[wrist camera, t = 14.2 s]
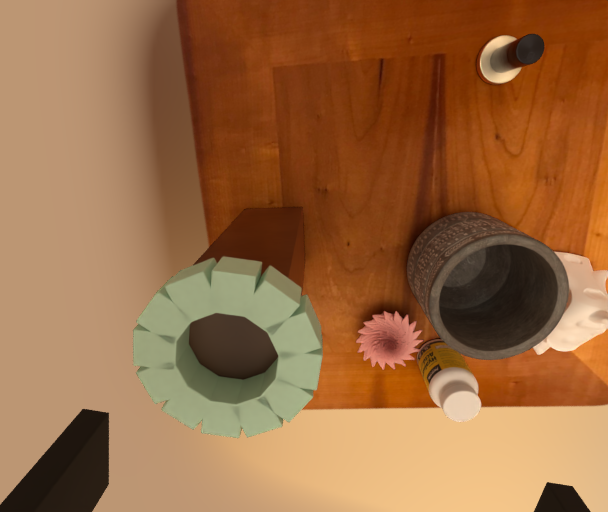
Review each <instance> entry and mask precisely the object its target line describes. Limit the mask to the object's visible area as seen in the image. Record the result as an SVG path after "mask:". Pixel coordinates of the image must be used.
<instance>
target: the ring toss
mask: <svg viewBox="0 0 608 512" xmlns="http://www.w3.org/2000/svg"><path fill="white" fill-rule="evenodd" d="M543 52H544V41H543V39H542V38H541V37H540V36H539V35H536V34H528V35H526V36H524V37H521V38H519V39H516V38H514V37H512V36H508V35H503V36H498V37H496V38H494V39H492V40H490V41H489V42H487V43H486V44H485V45H484V46H483V47H482V49H481V50H480V52H479V54H478V57H477V62H476V67H477V72H478V74H479V76H480V77H481V79H482V80H483V81H485V82H486V83H489V84H493V85H497V84H502V83H506V82H508V81H510V80H512V79H513V78H514V77H515V76H516V75H517V74H518V73H519V72H520V70H521V68H522V67H523V66H526V65H530V64H533V63H535V62H536V61H538V60H539V59H540V57H541V56H542V54H543Z"/></svg>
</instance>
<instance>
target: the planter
mask: <svg viewBox="0 0 608 512" xmlns="http://www.w3.org/2000/svg"><path fill="white" fill-rule="evenodd" d="M407 277H408V282H409V285H410V287H411V290H412V292H413V294H414V296H415V298H416V299H417V301H418V302H419V304H420V305H421V307H422V309H423V311H424V313H425V314H426V316H427V318H428V319H429V321H430V322H431V324H432V325H433V327H434V329H435V331H436V332H437V334H438V335H439V337H440V338H441V339H442V340H443V341H444V342H445V343H446V344H447V345H448V346H449V347H451V348H452V349H454V350H455V351H457V352H459V353H461V354H463V355H465V356H468V357H471V358H476V359H482V360H496V359H504V358H508V357H512V356H515V355H518V354H520V353H523V352H525V351H527V350H529V349H531V348H533V347H534V346H536V345H537V344H539V343H540V342H541V341H543V340H544V339H545V338H546V337H547V336H548V335H549V334H550V333H551V332H552V331H553V330H554V328H555V327H556V326H557V324H558V323H559V321H560V320H561V318H562V316H563V314H564V311H565V309H566V305H567V302H568V296H569V281H568V276H567V272H566V270H565V267H564V265H563V263H562V262H561V260H560V259H559V257H558V256H557V255H556V254H555V252H554V251H552V250H551V249H550V248H549V247H548V246H546V245H545V244H543V243H542V242H540V241H538V240H536V239H534V238H532V237H530V236H528V235H527V234H525V233H523V232H521V231H519V230H517V229H515V228H513V227H511V226H509V225H507V224H506V223H504V222H502V221H500V220H498V219H496V218H493V217H491V216H488V215H486V214H482V213H477V212H461V213H455V214H451V215H448V216H446V217H443V218H441V219H439V220H437V221H435V222H434V223H432V224H431V225H430V226H428V227H427V228H426V229H425V230H424V231H423V232H422V233H421V234H420V235H419V237H418V238H417V239H416V241H415V242H414V244H413V246H412V248H411V251H410V253H409V256H408V261H407Z"/></svg>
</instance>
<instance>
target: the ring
mask: <svg viewBox="0 0 608 512" xmlns="http://www.w3.org/2000/svg"><path fill="white" fill-rule="evenodd" d="M261 270H262V262H260V261H253V260H246V259H238V258H231V257H224V256H223V257H222V258H221V259H220V261H219V262H218V263H217V262H216V260H215V258H211V259H208V260H206V261H203V262H201V263H198V264H196V265H193V266H191V267H188V268H186V269H183V270H181V271H179V272H178V273H177V274H176V275H175V276H173V277H171V278H170V279H169V280H168V281H167V282H166V283H165V284H164V285H163V286H162V287H161V288H160V289H159V290H158V291H157V292H156V294H155V295H154V297H153V298H152V300H151V301H150V302H149V304H148V305H147V307H146V308H145V309H144V311H143V312H142V314H141V315H140V317H139V318H138V319H137V321H136V322H137V323H138V325H137V326H136V327H135V329H134V330H133V365H134V366H141V367H140V368H139V369H138V371H137V372H136V374H137V376H138V377H139V379H140V381H141V382H142V384H143V385H144V387H145V389H146V390H147V392H148V394H149V395H150V397H151V398H152V400H153V402H154V403H155V404H157V403H160V402H163V401H166V402H165V403H164V405H163V407H162V411H164V412H165V413H167V414H168V415H170V416H172V417H173V418H175V419H177V420H178V421H180V422H182V423H183V424H184V425H186V426H188V427H189V428H191V429H195V428H196V427H197V425H198V424H199V423H200V422H201V421H202V428H201V433H204V434H211V435H219V436H226V437H234V438H239V437H240V434H241V430H242V429H243V431H244V433H245V434H246V436H247V437H251V436H254V435H257V434H260V433H264V432H267V431H270V430H273V429H276V428H279V427H282V424H283V419H284V420H286V421H287V422H290V421H291V420H292V419H293V418H294V417H295V416H296V415H297V414H298V413H299V412H300V411H301V409H302V408H303V407H304V406H305V405H306V404H307V403H308V402H309V401H310V400H311V399H312V398H313V390H317V386H318V380H319V374H320V368H321V362H322V357H323V351H322V334H321V325H320V323H319V320H318V318H317V316H316V314H315V311H314V309H313V307H312V304H311V302H310V300H309V298H308V295H307V294H306V295H303V296H301V289H302V288H301V287H300V286H298V285H297V284H296V283H294V282H293V281H291V280H290V279H289V278H287V277H286V276H285V275H283V274H282V273H280V272H279V271H278V270H276V269H275V268H274V267H272V266H271V265H270V266H269V267H268V268H267V269H266V271H265V272H264V273H263V274H262V276H261ZM214 313H221V314H228V315H235V316H243V317H246V318H247V319H248V320H250V321H251V322H253V323H254V324H256V325H257V326H259V327H260V328H261V329H263V330H264V331H266V332H267V333H268V335H269V337H270V339H271V341H272V343H273V345H274V347H275V349H276V352H277V354H278V358H277V359H276V360H275V362H274V363H273V364H272V365H271V366H270V367H269V368H268V370H267V371H266V372H265V373H262V374H259V375H256V376H253V377H250V378H247V379H244V380H242V379H235V378H227V377H220V376H218V375H216V374H215V373H213V372H212V371H210V370H209V369H207V368H206V367H204V366H203V365H201V364H200V363H199V361H198V359H197V358H196V356H195V354H194V352H193V350H192V349H191V347H190V345H189V330H190V324H191V322H193V321H196V320H198V319H201V318H204V317H206V316H209V315H212V314H214Z"/></svg>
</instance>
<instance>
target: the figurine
mask: <svg viewBox="0 0 608 512" xmlns="http://www.w3.org/2000/svg"><path fill="white" fill-rule="evenodd" d="M555 254H556V255H557V256H558V257H559V259H560V260H561V262H562V263H563V265H564V267H565V270H566V272H567V276H568V281H569V296H568V302H567V305H566V309H565V311H564V314H563V316H562V318H561V320H560V321H559V323H558V324H557V326H556V327H555V328H554V330H553V331H552V332H551V333H550V334H549V335H548V336H547V337H546V338H545V339H544V340H543V341H541V342H540V343H539V344H537V345H536V346H534V347H533V349H534V350H535V351H536V354H538V355H540V354H542V353H544V352H545V351H546V350H547V349H549V348H550V347H552V348H553V349H555V350H558V351H571V350H575V349H576V348H577V347H578V346H580V345H581V344H583V343H585V342H586V341H588V340H590V339H592V338H593V337H595V336H597V335H598V334H601V333H603V332H605V331H606V329H607V328H608V294H607V292H606V287H605V282H606V279H607V277H608V270H598V271H593V269H592V266H591V264H590V261H589V259H588V258H586V257H583V256H579V255H575V254H571V253H563V252H555Z"/></svg>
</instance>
